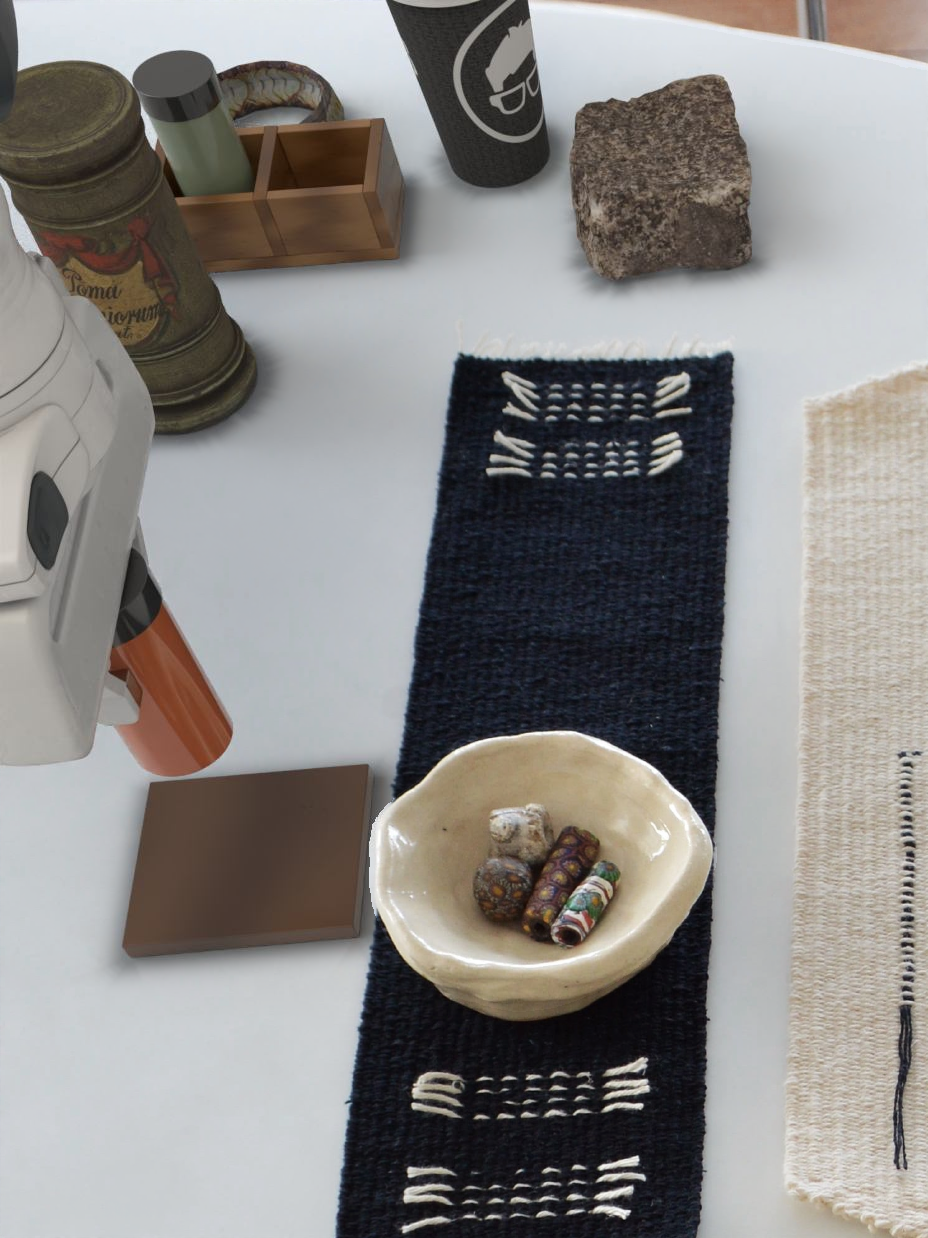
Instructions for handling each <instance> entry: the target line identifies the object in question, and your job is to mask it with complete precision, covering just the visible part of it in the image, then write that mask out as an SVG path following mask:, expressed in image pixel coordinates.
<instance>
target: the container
mask: <svg viewBox="0 0 928 1238" xmlns="http://www.w3.org/2000/svg"><path fill="white" fill-rule="evenodd" d="M0 177H1V179H2V180H3V181H4V182H5V183H6V184H7V186H8V189H9V190H10V198H11V202H12V205H13V207H14V208H15V210H16V211H17V212H18V213H19V215H20V216H22V218H23V220H24V222H25V224H26V226H27V227H28V229H29V231H30V233H31V235H32V238H33V239H34V241H35V243H36V246H37V247H38V250H39V252H40V253H41V255H42V256H43V257H49V258H50V259H51V260H52V262H53V263H54V265H55V266H56V268H57V269H58V271H59V273H60V275H61V277H62V279H63V281H64V283H65V285H66V287H67V289H68V291H69V293H70V294H71V296H78V295H79V296H83V297H85V298H87V299H89V300H90V301H91V302H92V303H93V304H94V305H95V306H96V307H97V308H98V309H99V311H100V312H101V313H102V314H103V316H104V317H105V319H106V320H107V322H108V323H109V325H110V326H111V328H112V329H113V331H114V332H115V334H116V335H117V337H118V339H119V340H120V342H121V344H122V345H123V347H124V348H125V350H126V352H127V353H128V355H129V357H130V358H131V360H132V362H133V363H134V365H135V367H136V369H137V370H138V372H139V374H140V376H141V377H142V379H143V381H144V383H145V385H146V387H147V389H148V391H149V395H150V398H151V402H152V406H153V411H154V416H155V430H154V434H155V435H181V434H182V435H183V434H188V433H193V432H198V431H201V430H204V429H207V428H209V427H213V426H214V425H216V424H218V423H220V422H222V421H224V420H226V419H227V418H229V417H230V416H232V415H233V414H235V413H236V412H237V411H238V410H240V409H241V408H242V406H243V405H245V403H247V401H248V400H249V399H250V397H251V396H252V394H253V392H254V390H255V388H256V385H257V381H258V364H257V363H258V362H257V357H256V355H255V352H254V350H253V348H252V347H251V345H250V343H249V342H248V341H247V340H246V339H245V334H244V331H243V330H242V328H241V326H240V325H239V323H238V322H237V320H235V319H234V318H233V317H232V316H230V315H229V314H228V312H227V310H226V307H225V305H224V302H223V300H222V294H221V291H220V289H219V287H218V285H217V283H216V282H215V281H214V280H213V278H212V277H211V276H210V275H209V273H207V271H206V268H205V266H204V264H203V262H202V260H201V258H200V256H199V253H198V251H197V248H196V246H195V244H194V241H193V239H192V237H191V235H190V232H189V230H188V228H187V226H186V223H185V221H184V219H183V216H182V214H181V211H180V209H179V206H178V204H177V202H176V200H175V197H174V195H173V193H172V190H171V188H170V186H169V184H168V181H167V179H166V177H165V175H164V173H163V165H162V161H161V159H160V157H159V155H158V154H157V153H156V152H155V148H153V147H152V146H151V142H150V141H149V139H148V136H147V134H146V123H145V120H144V118H143V115H142V104H141V102H140V99H139V96H138V94H137V92H136V90H135V88H134V86H133V83H132V82H131V81H130V80H129V79H128V78H127V77H126V75H123V73H121V72H120V71H119V70H117V69H115V68H113V67H112V66H109V65H106V64H105V63H104V64H103V63H101V62H95V61H90V60H79V59H78V60H77V59H76V60H75V59H73V60H72V59H70V60H67V59H66V60H57V61H56V60H55V61H49V62H45V63H44V62H43V63H39V64H35V65H32V66H29V67H28V66H27V67H25V68H22V69H20V70H18V73H17V84H16V91H15V96H14V102H13V106H12V110H11V112H10V114H9V116H8V118H7V119H6V120H5V121H4V122H3V123H1V124H0ZM154 434H153V435H154Z"/></svg>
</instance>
